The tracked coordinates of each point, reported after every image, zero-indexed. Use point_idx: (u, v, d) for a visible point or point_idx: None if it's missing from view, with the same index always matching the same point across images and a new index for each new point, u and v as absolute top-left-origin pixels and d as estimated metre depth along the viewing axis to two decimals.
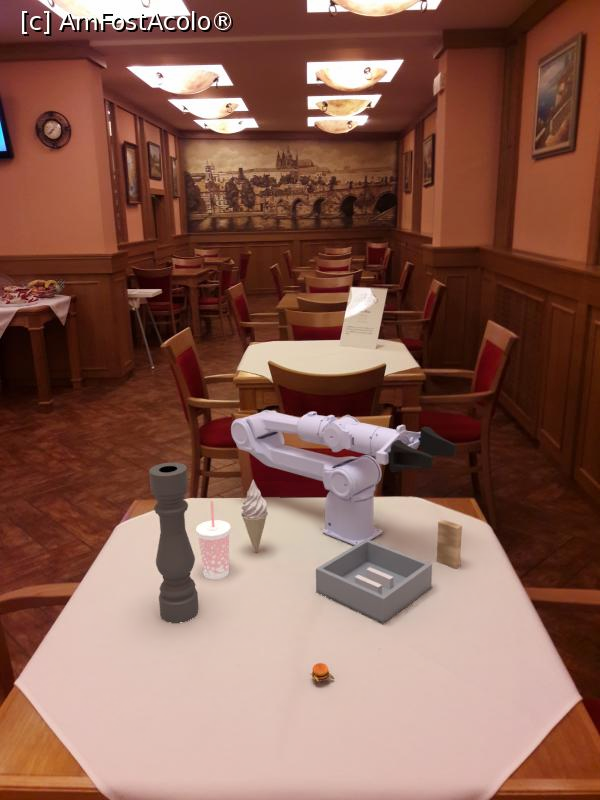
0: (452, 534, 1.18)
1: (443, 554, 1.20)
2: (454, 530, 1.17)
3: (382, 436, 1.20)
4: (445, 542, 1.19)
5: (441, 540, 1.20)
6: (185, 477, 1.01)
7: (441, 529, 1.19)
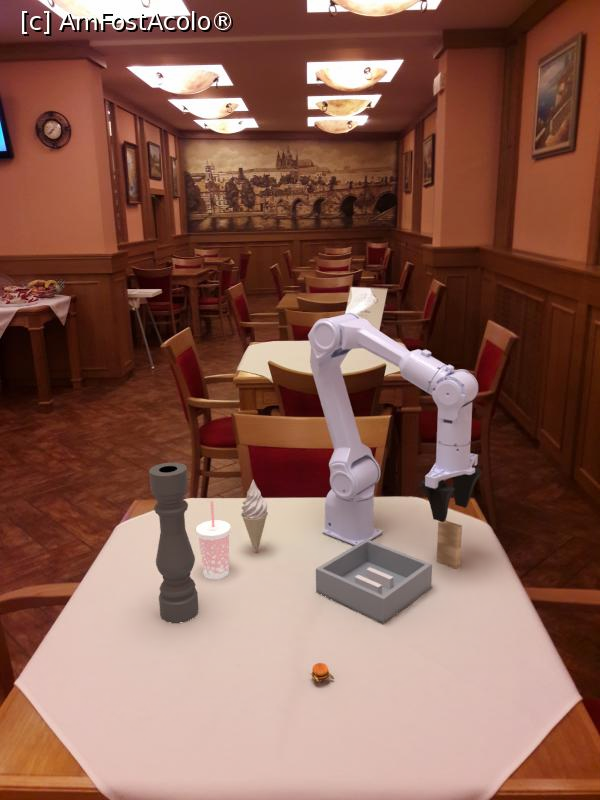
0: (452, 534, 1.18)
1: (443, 554, 1.20)
2: (454, 530, 1.17)
3: (456, 458, 1.12)
4: (445, 542, 1.19)
5: (442, 540, 1.20)
6: (185, 477, 1.01)
7: (441, 529, 1.19)
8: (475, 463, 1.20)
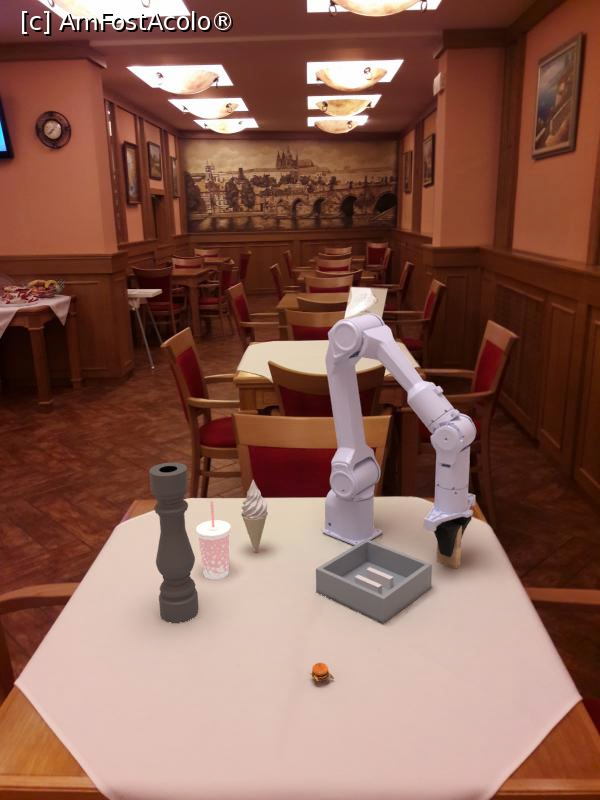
0: None
1: None
2: None
3: (454, 501, 1.14)
4: None
5: None
6: (185, 477, 1.01)
7: None
8: (473, 503, 1.22)
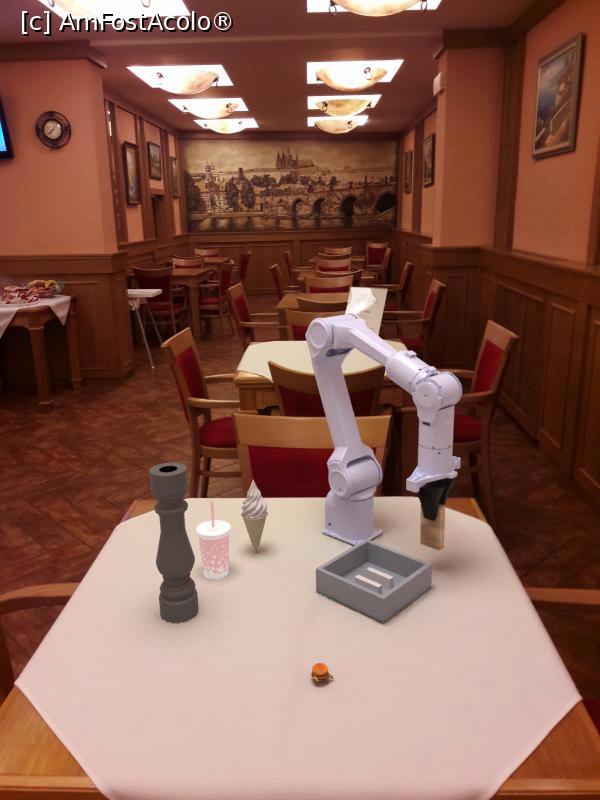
0: None
1: (426, 536, 1.17)
2: None
3: (438, 461, 1.10)
4: (428, 523, 1.16)
5: (425, 521, 1.16)
6: (185, 477, 1.01)
7: None
8: (458, 466, 1.18)
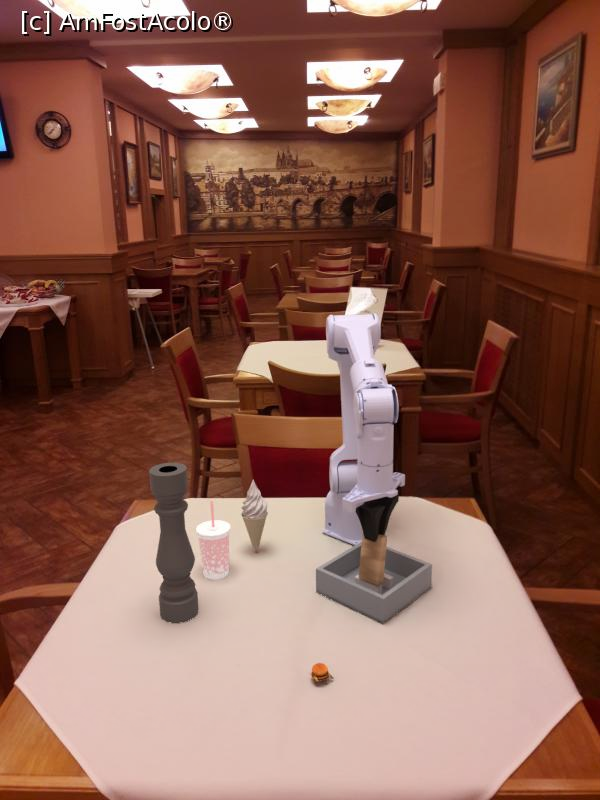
0: (376, 545, 1.09)
1: (365, 569, 1.10)
2: (379, 540, 1.08)
3: (377, 479, 1.04)
4: (369, 554, 1.10)
5: (365, 552, 1.10)
6: (185, 477, 1.01)
7: (365, 540, 1.10)
8: (402, 483, 1.12)
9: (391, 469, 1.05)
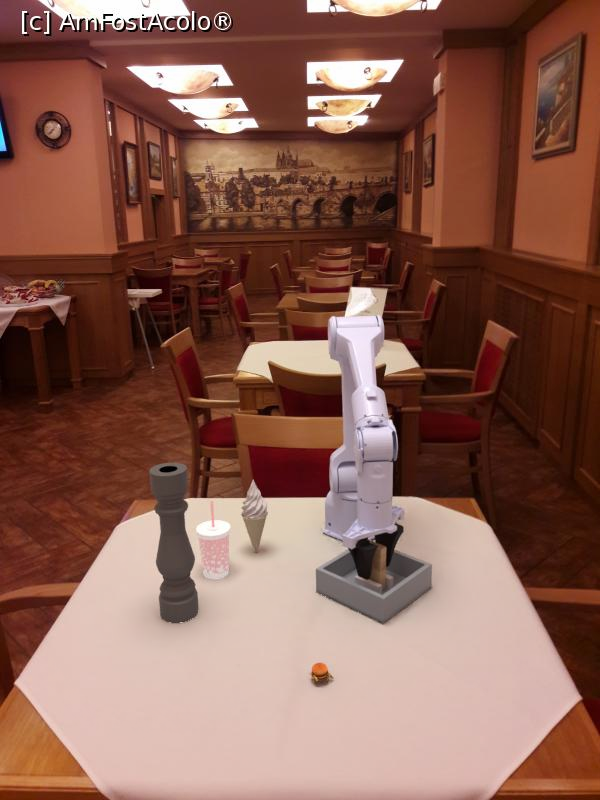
0: (375, 556, 1.10)
1: None
2: (378, 552, 1.09)
3: (376, 515, 1.06)
4: None
5: None
6: (185, 477, 1.01)
7: None
8: (401, 517, 1.14)
9: (390, 505, 1.07)
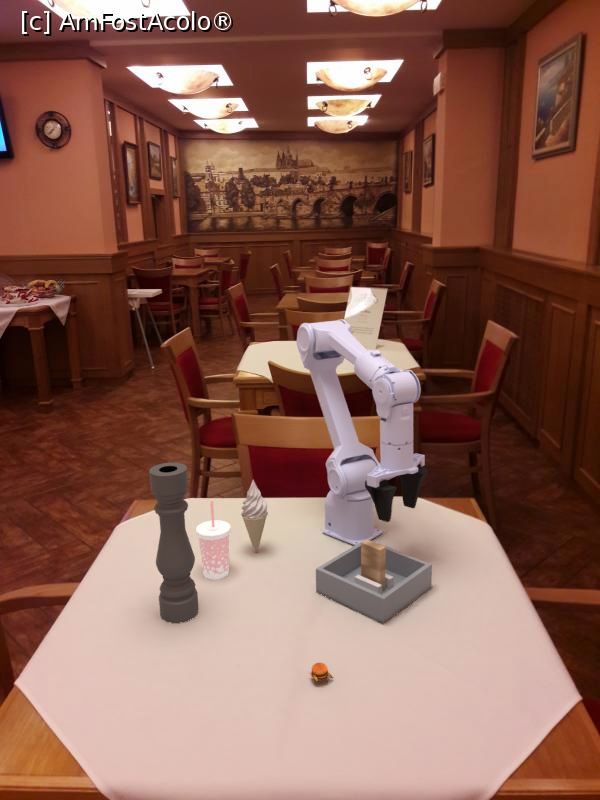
0: (374, 556, 1.10)
1: (367, 577, 1.12)
2: (377, 552, 1.09)
3: (398, 457, 1.12)
4: (369, 564, 1.11)
5: (365, 562, 1.12)
6: (185, 477, 1.01)
7: (364, 550, 1.11)
8: (422, 463, 1.20)
9: (411, 448, 1.14)
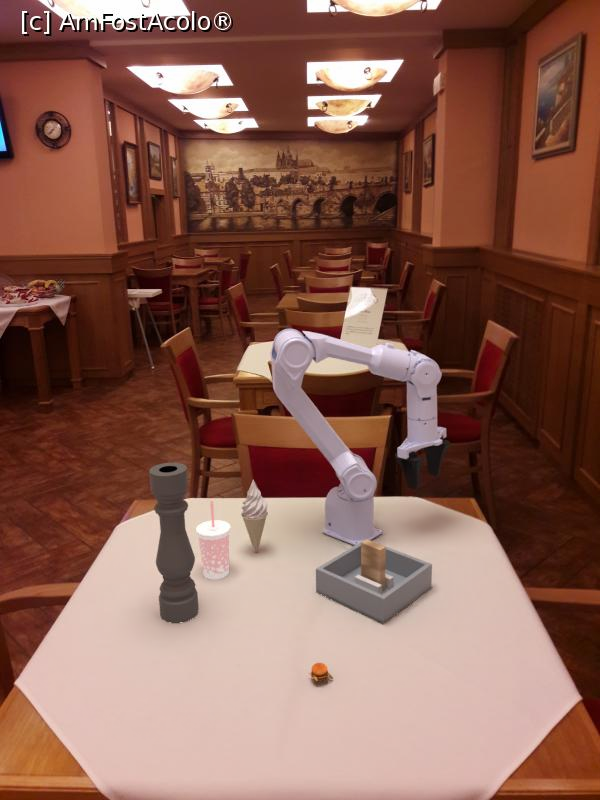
0: (374, 556, 1.10)
1: (367, 577, 1.12)
2: (377, 552, 1.09)
3: (425, 431, 1.26)
4: (369, 564, 1.11)
5: (365, 562, 1.12)
6: (185, 477, 1.01)
7: (364, 550, 1.11)
8: (444, 436, 1.33)
9: (436, 422, 1.27)
